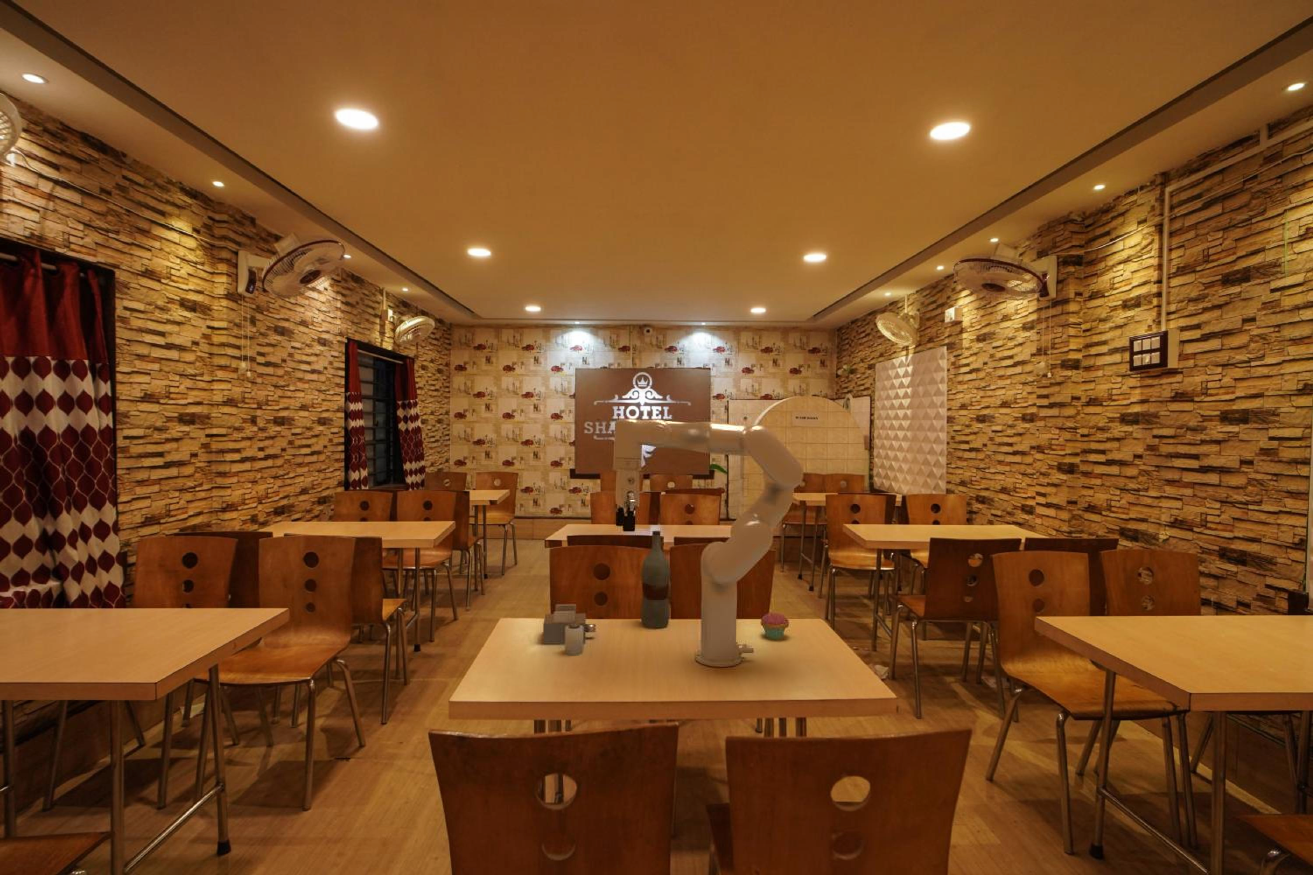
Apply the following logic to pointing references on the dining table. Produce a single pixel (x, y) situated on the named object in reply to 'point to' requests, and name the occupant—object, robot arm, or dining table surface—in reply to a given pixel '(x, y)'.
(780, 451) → the robot arm
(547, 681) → the dining table surface
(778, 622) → the cupcake
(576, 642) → the toy camera lens
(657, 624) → the bottle
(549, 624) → the box with side knob
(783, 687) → the dining table surface
